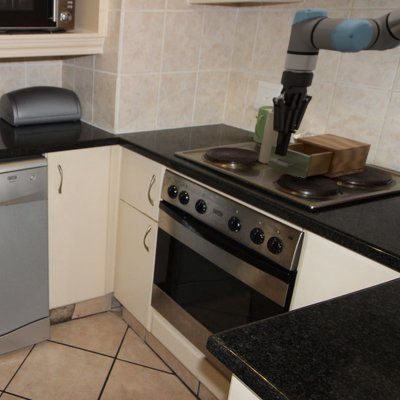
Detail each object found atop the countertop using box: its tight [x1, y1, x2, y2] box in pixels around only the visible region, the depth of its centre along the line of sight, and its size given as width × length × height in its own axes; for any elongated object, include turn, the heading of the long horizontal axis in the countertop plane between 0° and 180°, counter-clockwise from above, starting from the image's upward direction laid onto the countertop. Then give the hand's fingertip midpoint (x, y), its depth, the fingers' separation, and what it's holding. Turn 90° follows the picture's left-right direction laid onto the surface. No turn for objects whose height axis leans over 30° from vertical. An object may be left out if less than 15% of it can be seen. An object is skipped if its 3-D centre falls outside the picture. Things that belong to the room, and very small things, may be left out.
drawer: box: [267, 142, 335, 180], centre depth 141 cm, size 17×12×7 cm
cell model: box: [292, 131, 316, 144], centre depth 163 cm, size 10×12×7 cm
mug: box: [252, 105, 273, 144], centre depth 174 cm, size 13×10×12 cm
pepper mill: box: [257, 104, 278, 165], centre depth 150 cm, size 5×5×18 cm
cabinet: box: [296, 133, 372, 179], centre depth 147 cm, size 15×14×9 cm
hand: (280, 154), depth 137 cm, fingers closed
